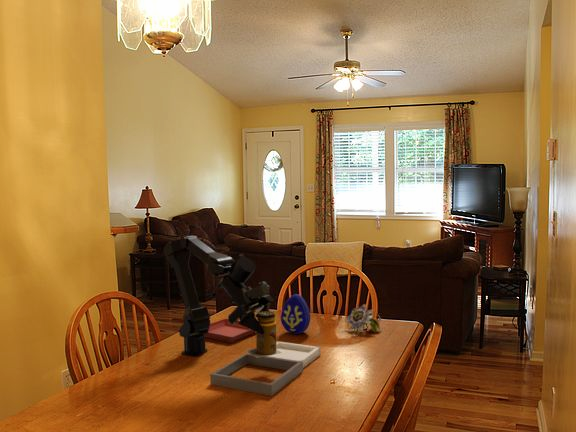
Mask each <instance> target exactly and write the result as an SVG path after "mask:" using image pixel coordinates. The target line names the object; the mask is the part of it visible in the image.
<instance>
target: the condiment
mask: <svg viewBox="0 0 576 432" xmlns="http://www.w3.org/2000/svg"><path fill="white" fill-rule="evenodd" d="M256 319H257V321H258V322H259V324H260V325H261V327H262V328H263V330H264V334H263V335H261V334H259V333H257V332H255V334H256V335H255V337H256V339H255V341H256V342H255V343H256V344H255V345H256V347H254V348H251V349H246V350H245V351H246V353H249V354H251V355H252V356H254V357H256V358H259V357H264V356H270V355H275V354H280V353H282V352H280V351H278V350H276V342H277V322H276V314H275V313H274V311H270V310H269V311H263V312H259V313H258V318H257V317H256Z"/></svg>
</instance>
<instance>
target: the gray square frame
mask: <svg viewBox="0 0 576 432" xmlns="http://www.w3.org/2000/svg"><path fill="white" fill-rule="evenodd" d="M246 365H253V366H259V367H264V368H271V369H278V370H283V371H284V370H285V372H283V373H282V374H281V375H280V376H278V377H277V378H275V379H274V380H272V381H271V382H265V381H259V380H253V379H248V378H242V377H238V376H232V375H231V374H233V373H235V372H237V371H238V370H239V369H241V368H242V367H245V366H246ZM303 370H304V368H303V362H300V361H294V360H287V359H281V358H275V357H268V356H264V357H259V358H256V357H254V356H252V355H251V354H250V353H248V352H246V353H244V354H242V355H240V356H239V357H237V358H236V359H233V360H232V361H230V362H228V363H227V364H225V365H223V366H222V367H220V368H218V369H216V370H215V371H213V372H211V373H210V374H209V376H210V377H209V379H210V382H209V383H210V385H212V386H213V385H214V386H218V387H224V388H228V389H233V390H237V391H238V390H240V391H243V392H249V393H255V394H260V395H265V396H271V397H273V396H274V395H276V394H277V393H278V392H279V391H280V390H282V389H283V388H284V387H286V386H287V385H288V384H289V383H290V382H291V381H293V380H294V379H295V378H296V377H298V376H299V375H300V374H301V373H302V372H303Z"/></svg>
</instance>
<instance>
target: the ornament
mask: <svg viewBox="0 0 576 432" xmlns="http://www.w3.org/2000/svg"><path fill="white" fill-rule="evenodd" d="M280 314H281V315H280V322H281V326H282V327H283V328H284V330H286V332H287V333H291V334H293V335H294V334H295V335H297V334H302V333H304V332H306V330H308V328H309V326H310V325H311V324H310V323H311V312H310V308H309V306H308V304H307V302H306V300H305V299H304V297H303V296H302V295H300V294H298V293H295V294H293V295H292V294H291V296H289V297H288V299H287V300H286V301H285V302H284V305H283V308H282V310H281V313H280Z"/></svg>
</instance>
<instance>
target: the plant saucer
mask: <svg viewBox="0 0 576 432" xmlns="http://www.w3.org/2000/svg"><path fill="white" fill-rule="evenodd" d="M239 322H240V320H238V322H237V323H236V324H234V325H231V323H230V322H229V321H228V318H223V319H219V320H216V321H215V322H212V323H211V322H210V326H209V331H208V333H207V334H204V338H208V339H212V340H218V341H223V342H226V343H233V342H236V341H238V340H241V339H243V338H245V337H247V336H250V335H253V334H256V332H255V331H253V330H251V329H249V328H247V327H245V326H242V325H238V323H239Z"/></svg>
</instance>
